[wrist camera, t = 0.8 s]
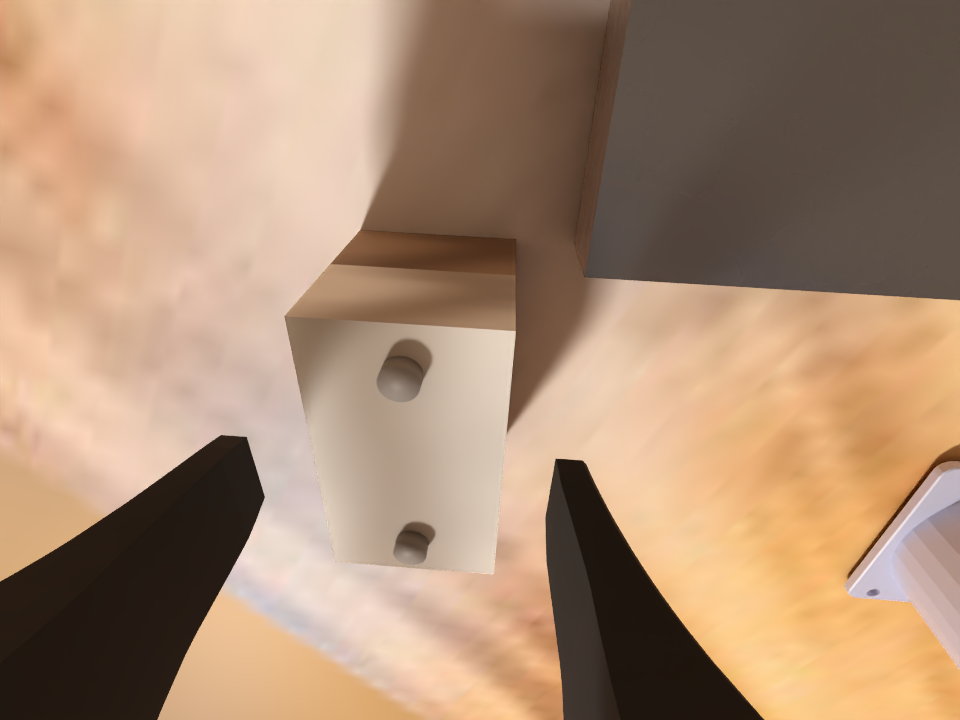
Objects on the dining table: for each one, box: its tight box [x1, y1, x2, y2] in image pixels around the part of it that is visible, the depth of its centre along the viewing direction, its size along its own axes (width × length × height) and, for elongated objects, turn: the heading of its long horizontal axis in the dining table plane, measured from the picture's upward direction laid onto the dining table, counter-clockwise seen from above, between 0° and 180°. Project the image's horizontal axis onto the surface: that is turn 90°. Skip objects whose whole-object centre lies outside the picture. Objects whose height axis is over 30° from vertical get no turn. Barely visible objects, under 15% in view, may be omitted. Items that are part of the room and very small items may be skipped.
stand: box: [574, 0, 960, 300], centre depth 10 cm, size 11×10×2 cm
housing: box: [285, 230, 516, 575], centre depth 14 cm, size 5×8×6 cm, turn 178°
